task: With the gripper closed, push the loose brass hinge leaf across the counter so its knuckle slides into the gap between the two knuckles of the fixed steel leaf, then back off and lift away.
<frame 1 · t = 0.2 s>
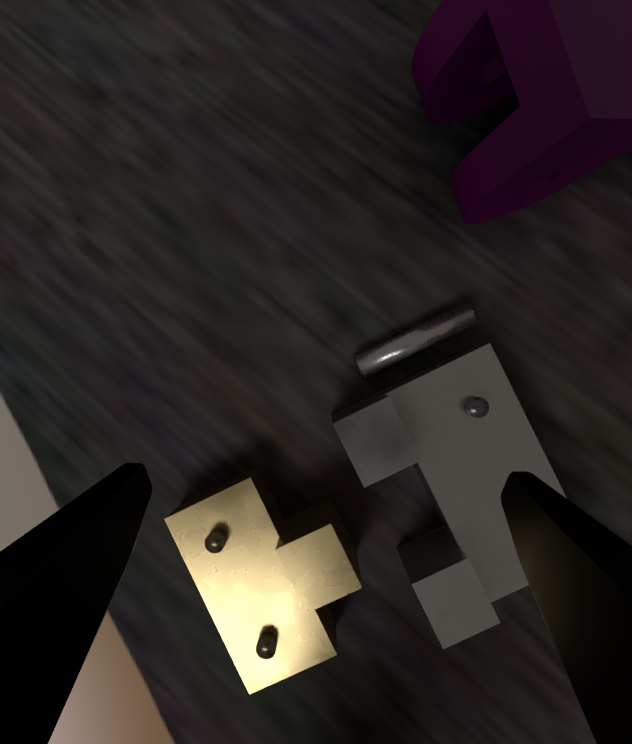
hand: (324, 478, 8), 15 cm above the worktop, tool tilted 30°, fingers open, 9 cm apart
fixed steel leaf: (457, 468, 23), on the worktop
mounting bracket: (550, 126, 23), on the worktop
brass leaf: (258, 562, 23), on the worktop
hinge pin: (410, 342, 23), on the worktop
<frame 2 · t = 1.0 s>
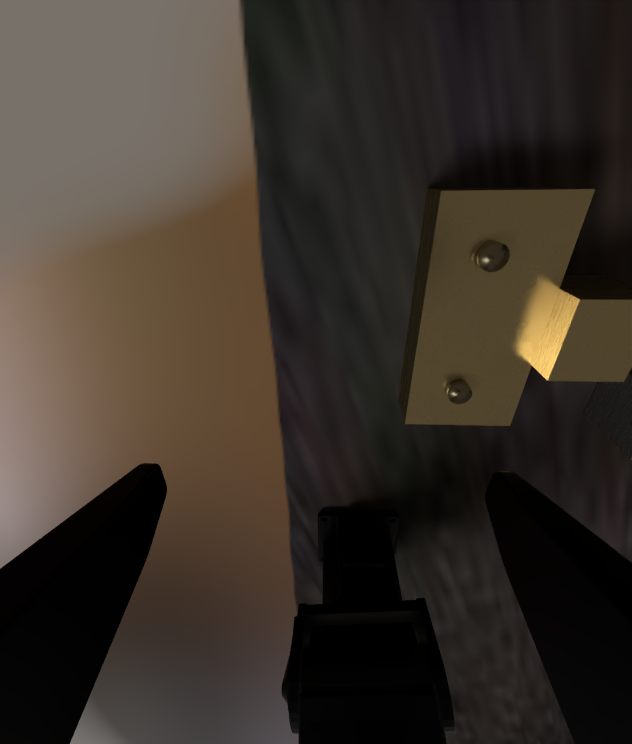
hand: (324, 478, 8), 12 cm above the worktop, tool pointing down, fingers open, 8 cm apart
brass leaf: (464, 311, 19), on the worktop
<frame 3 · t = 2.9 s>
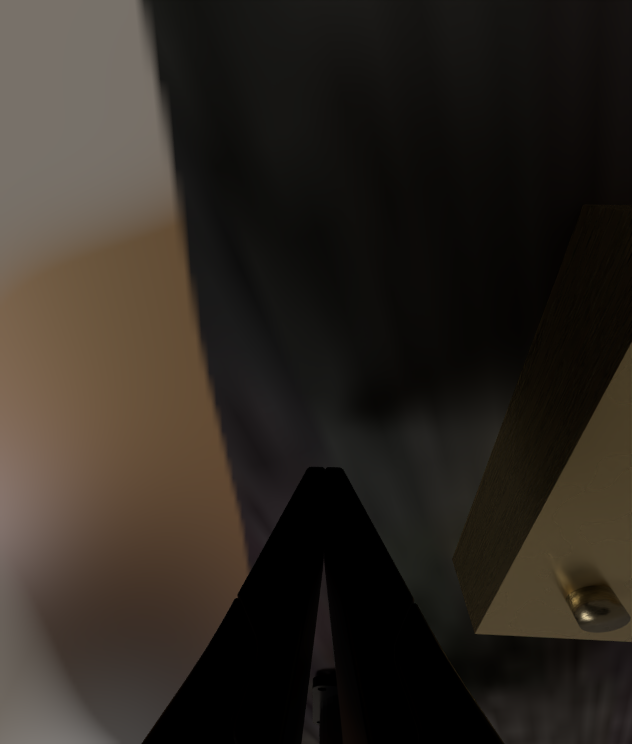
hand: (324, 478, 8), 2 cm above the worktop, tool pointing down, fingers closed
brass leaf: (602, 439, 10), on the worktop
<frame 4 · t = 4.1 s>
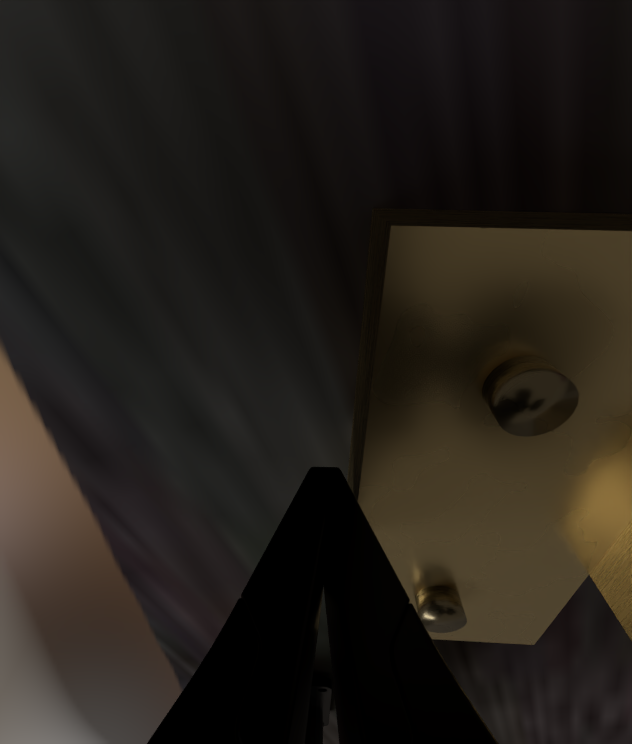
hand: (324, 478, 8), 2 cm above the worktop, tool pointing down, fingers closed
brass leaf: (455, 441, 10), on the worktop, touching gripper
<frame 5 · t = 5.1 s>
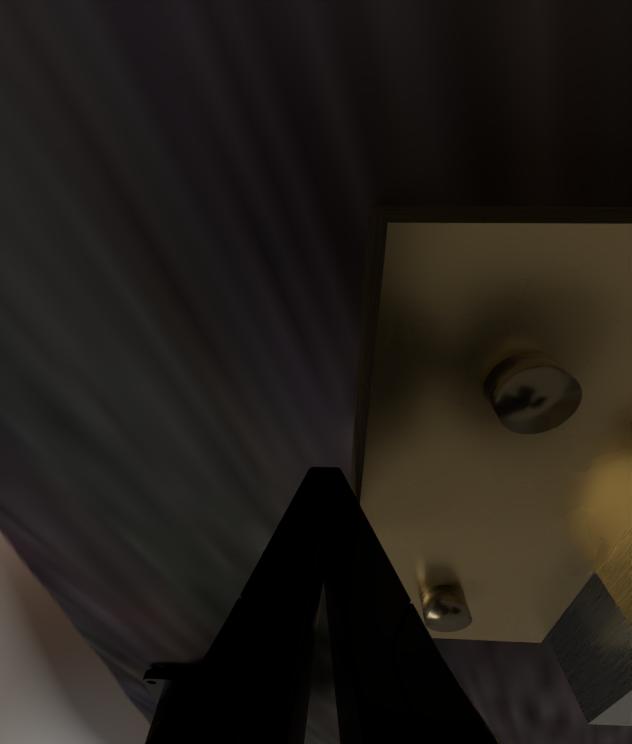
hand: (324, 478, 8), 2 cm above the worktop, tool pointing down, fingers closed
brass leaf: (458, 439, 10), on the worktop, touching gripper
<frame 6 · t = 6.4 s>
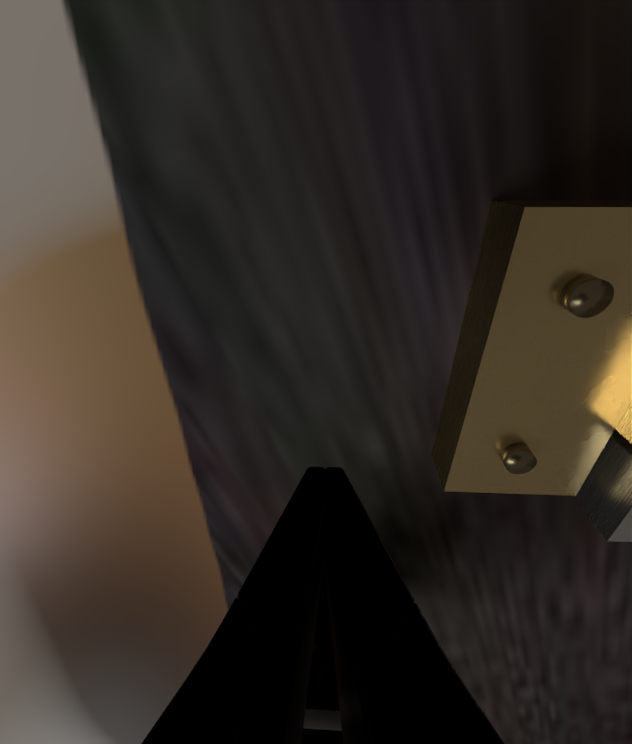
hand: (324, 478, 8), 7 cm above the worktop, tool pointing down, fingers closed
brass leaf: (523, 354, 15), on the worktop
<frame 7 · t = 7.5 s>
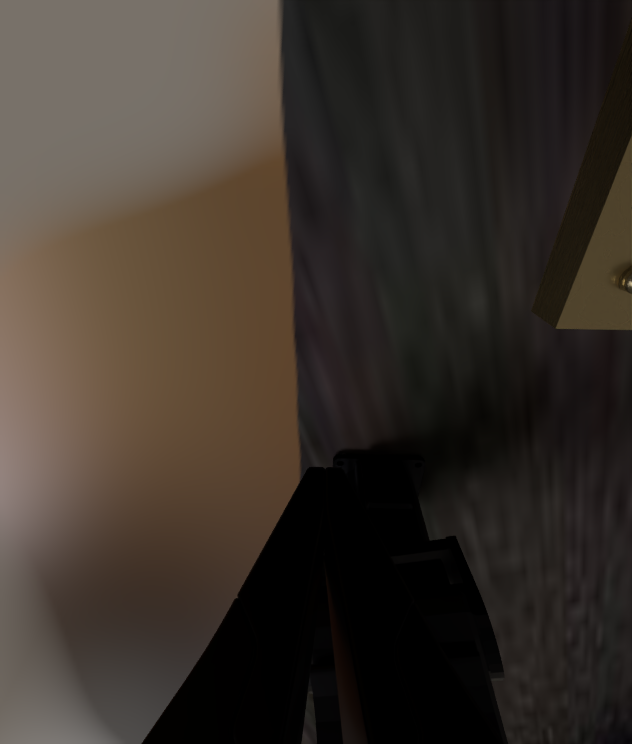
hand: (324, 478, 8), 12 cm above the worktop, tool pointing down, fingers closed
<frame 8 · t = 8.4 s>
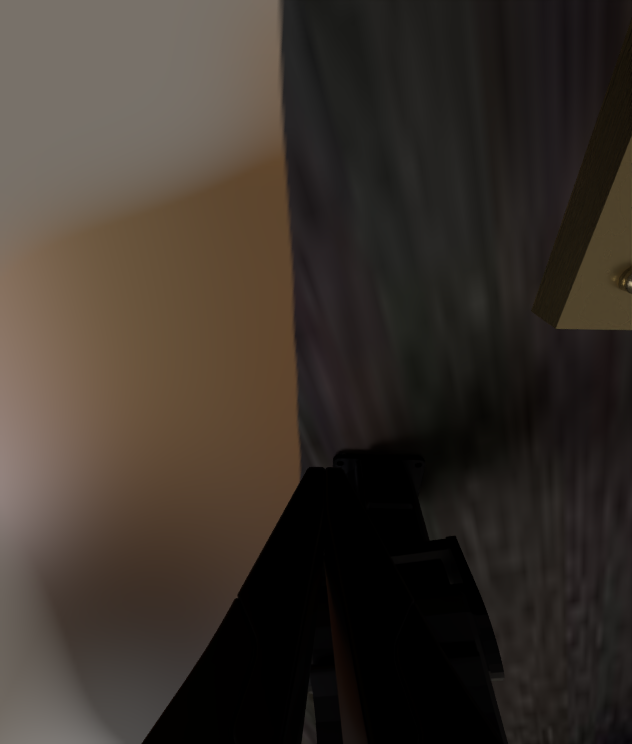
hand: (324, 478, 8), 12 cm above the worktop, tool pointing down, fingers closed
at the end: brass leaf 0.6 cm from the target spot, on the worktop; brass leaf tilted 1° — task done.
